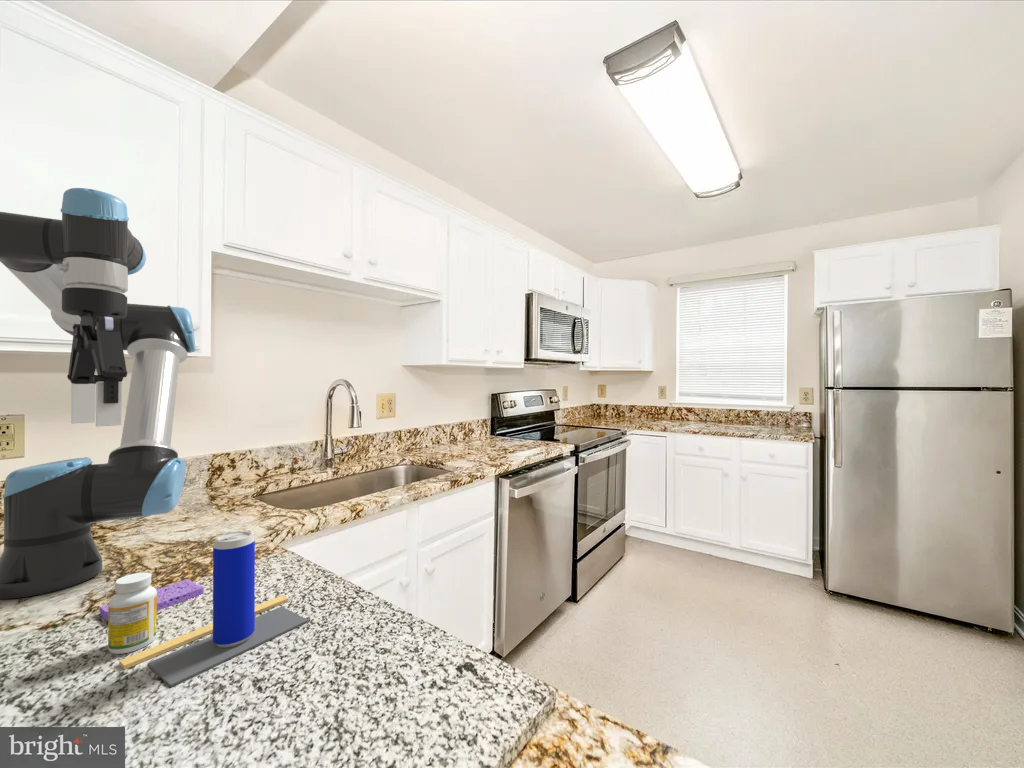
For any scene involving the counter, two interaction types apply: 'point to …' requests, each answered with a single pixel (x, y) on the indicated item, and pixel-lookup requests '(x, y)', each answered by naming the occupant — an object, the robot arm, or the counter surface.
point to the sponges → (170, 595)
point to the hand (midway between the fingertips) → (95, 424)
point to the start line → (188, 637)
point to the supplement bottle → (132, 614)
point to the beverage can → (233, 588)
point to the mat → (209, 654)
